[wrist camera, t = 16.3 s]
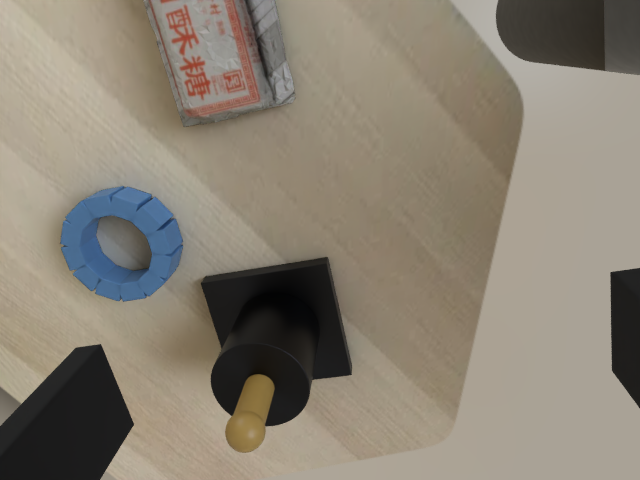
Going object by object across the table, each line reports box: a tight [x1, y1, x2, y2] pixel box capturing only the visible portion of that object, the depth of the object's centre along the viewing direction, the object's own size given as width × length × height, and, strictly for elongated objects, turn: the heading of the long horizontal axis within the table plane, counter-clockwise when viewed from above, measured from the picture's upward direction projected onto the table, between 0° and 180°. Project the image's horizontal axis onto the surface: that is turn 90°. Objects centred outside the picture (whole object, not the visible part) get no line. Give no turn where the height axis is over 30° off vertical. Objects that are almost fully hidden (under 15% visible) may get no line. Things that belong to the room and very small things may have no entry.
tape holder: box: [201, 257, 352, 453], centre depth 42 cm, size 12×12×16 cm
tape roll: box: [60, 186, 183, 302], centre depth 46 cm, size 10×10×3 cm
